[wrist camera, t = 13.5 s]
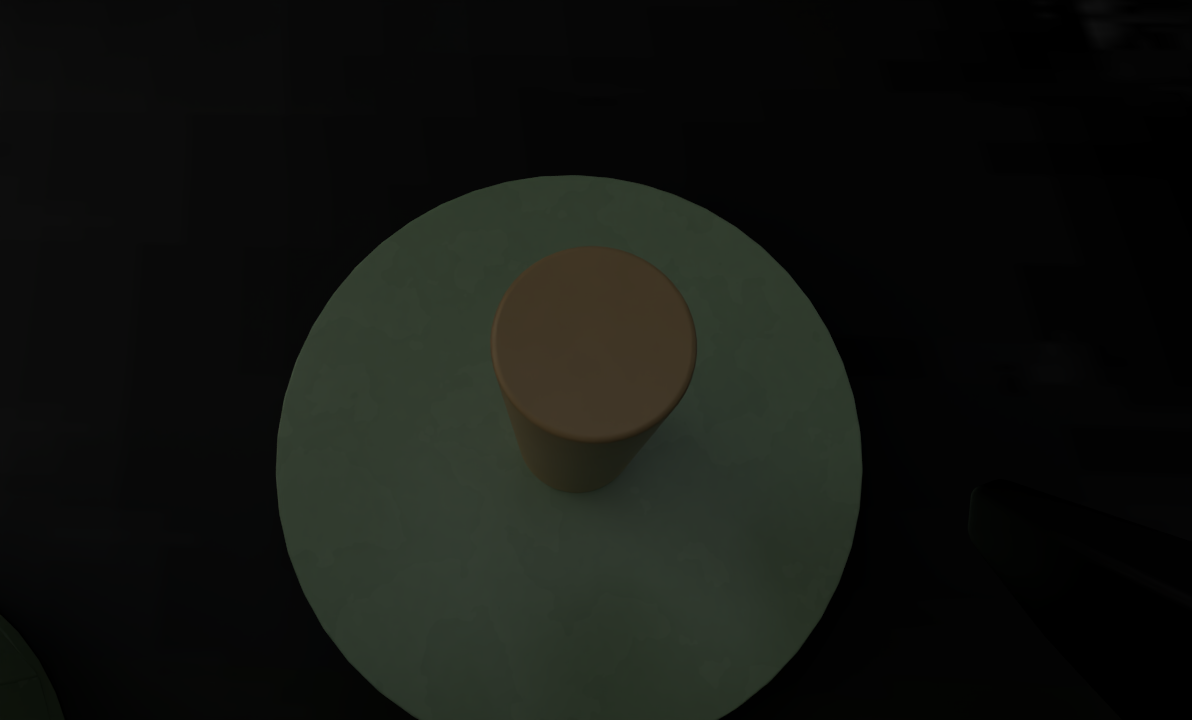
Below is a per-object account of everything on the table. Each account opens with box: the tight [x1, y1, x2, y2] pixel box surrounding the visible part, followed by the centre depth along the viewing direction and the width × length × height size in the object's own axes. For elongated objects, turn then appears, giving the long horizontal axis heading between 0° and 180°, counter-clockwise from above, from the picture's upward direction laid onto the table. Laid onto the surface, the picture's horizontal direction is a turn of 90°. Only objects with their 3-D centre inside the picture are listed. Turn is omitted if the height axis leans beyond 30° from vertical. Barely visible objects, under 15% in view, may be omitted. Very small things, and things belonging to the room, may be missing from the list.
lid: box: [276, 175, 862, 720], centre depth 12 cm, size 13×13×8 cm
